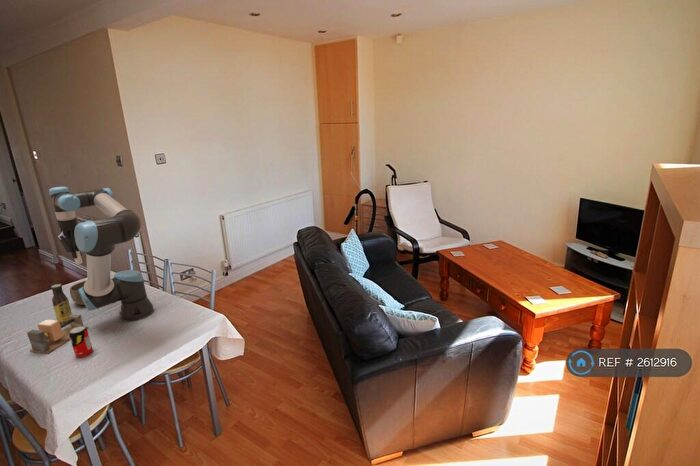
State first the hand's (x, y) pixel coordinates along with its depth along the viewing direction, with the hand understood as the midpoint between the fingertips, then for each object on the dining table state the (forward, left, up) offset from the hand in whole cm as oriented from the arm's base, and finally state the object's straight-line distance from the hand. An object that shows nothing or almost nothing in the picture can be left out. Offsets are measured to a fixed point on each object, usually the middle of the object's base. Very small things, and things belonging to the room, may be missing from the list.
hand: (79, 263), depth 185 cm
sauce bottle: (+2, +13, -27) cm, 30 cm away
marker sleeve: (-10, +29, -24) cm, 39 cm away
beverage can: (-30, +33, -27) cm, 52 cm away
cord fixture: (-10, +26, -26) cm, 38 cm away
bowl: (+8, -8, -27) cm, 29 cm away
